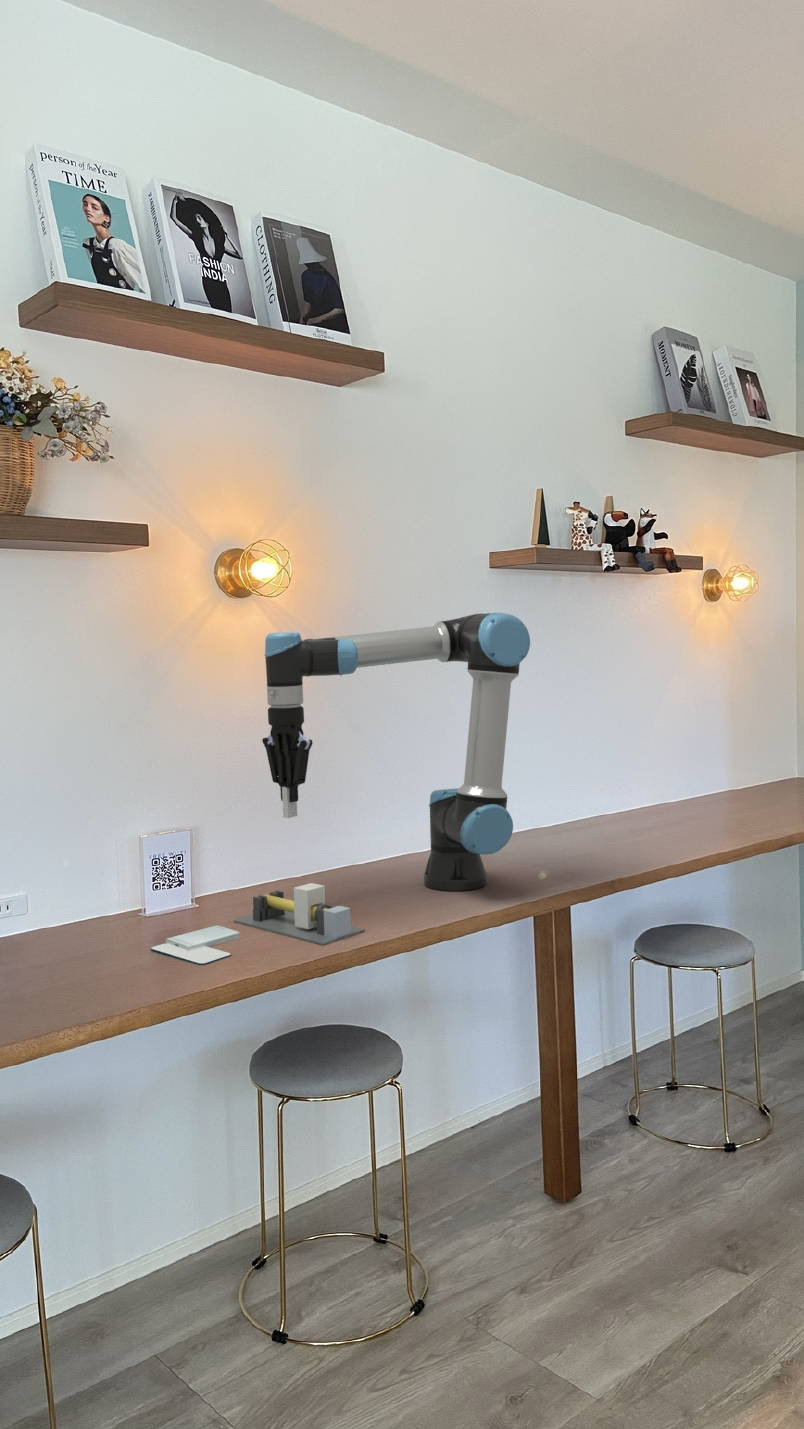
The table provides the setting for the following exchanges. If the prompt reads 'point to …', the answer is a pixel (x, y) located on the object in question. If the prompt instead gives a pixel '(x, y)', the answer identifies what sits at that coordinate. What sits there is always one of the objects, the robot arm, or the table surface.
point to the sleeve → (307, 904)
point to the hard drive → (204, 938)
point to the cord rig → (280, 919)
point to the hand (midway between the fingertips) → (290, 816)
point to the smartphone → (191, 953)
